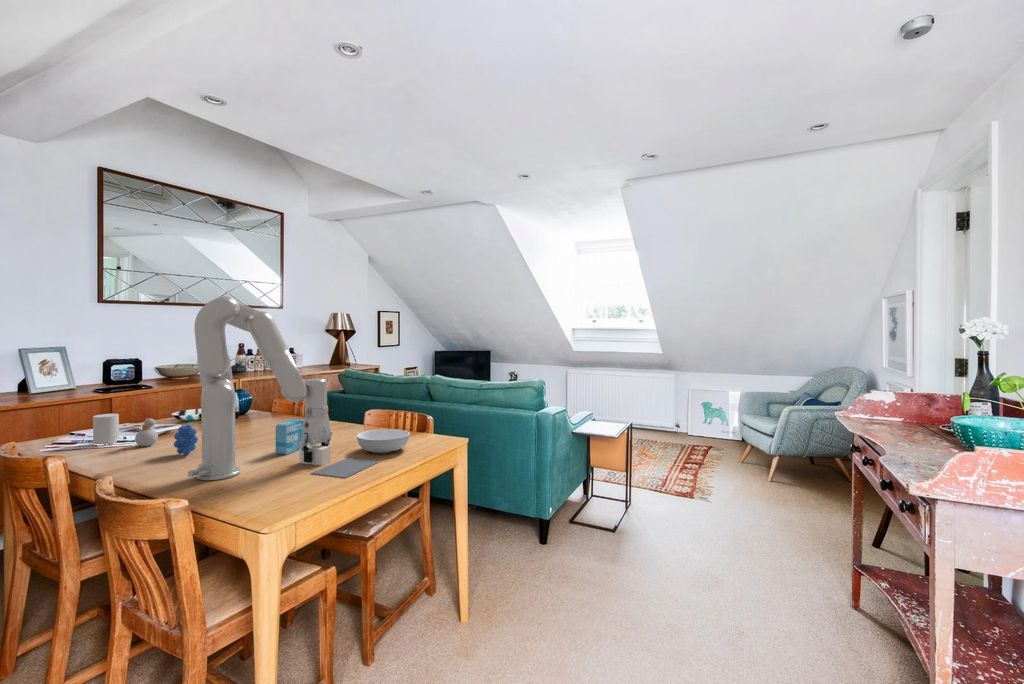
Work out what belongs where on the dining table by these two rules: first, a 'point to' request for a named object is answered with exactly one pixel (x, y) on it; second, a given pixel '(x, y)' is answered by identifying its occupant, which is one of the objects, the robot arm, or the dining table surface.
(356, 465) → the mat
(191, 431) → the grapes
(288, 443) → the data package
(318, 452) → the white rectangular block
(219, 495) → the dining table surface
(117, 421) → the cup
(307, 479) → the dining table surface
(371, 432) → the serving bowl
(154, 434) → the perfume bottle
